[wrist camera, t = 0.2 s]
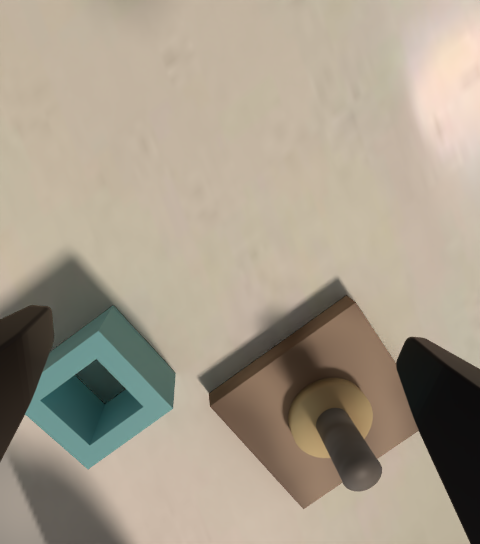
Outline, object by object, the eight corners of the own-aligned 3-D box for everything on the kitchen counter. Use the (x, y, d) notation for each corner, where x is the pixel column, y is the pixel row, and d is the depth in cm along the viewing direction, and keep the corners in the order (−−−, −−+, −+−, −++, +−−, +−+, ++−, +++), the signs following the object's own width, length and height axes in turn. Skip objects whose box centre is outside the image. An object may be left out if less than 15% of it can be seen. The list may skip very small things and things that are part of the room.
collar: (103, 425, 26) (87, 469, 22) (36, 362, 24) (7, 398, 20) (175, 373, 26) (173, 408, 22) (113, 305, 24) (98, 330, 20)
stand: (298, 492, 30) (329, 585, 23) (208, 393, 26) (215, 469, 20) (421, 408, 29) (490, 478, 22) (346, 295, 26) (401, 338, 19)
